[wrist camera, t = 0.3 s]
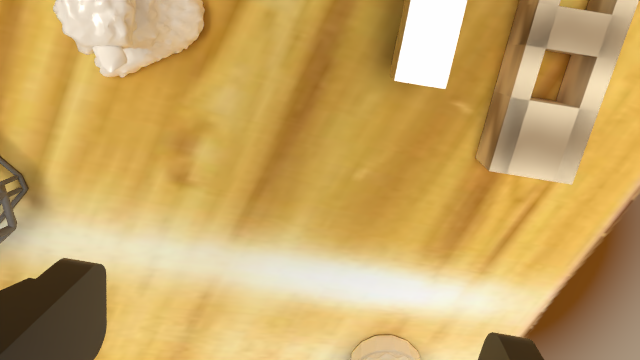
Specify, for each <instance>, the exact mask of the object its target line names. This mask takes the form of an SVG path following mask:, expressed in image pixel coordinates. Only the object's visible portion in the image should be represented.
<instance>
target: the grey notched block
mask: <svg viewBox="0 0 640 360" xmlns="http://www.w3.org/2000/svg"><path fill="white" fill-rule="evenodd" d="M466 4H467V0H405V2H404V7H403V12H402V17H401V21H400V26H399V31H398V36H397V38H396V43H395V48H394V53H393V58H392V63H391V65H392V66H391V71H390V77H391V78H392V79H393V80H394V81H400V82H406V83H412V84H418V85H424V86H430V87H436V88H443V89H446V85H447V81H448V77H449V73H450V69H451V65H452V61H453V57H454V53H455V49H456V44H457V40H458V36H459V32H460V28H461V24H462V20H463V16H464V12H465V8H466Z"/></svg>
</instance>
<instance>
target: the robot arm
mask: <svg viewBox="0 0 640 360" xmlns="http://www.w3.org/2000/svg"><path fill="white" fill-rule="evenodd" d="M106 325H107V318H106V270H105V267H104V266H103V265H102V264H97V263H91V262H85V261H79V260H73V259H68V258H63V259H60V260H59V261H57V262H56V263H55V264H54V265H52V266H51V267H50V268H49V269H47V270H46V271H45V272H44V273H42V274H41V275H40V276H39V277H38V278H36V279H33V278H28V279H26V280H23V281H21V282H19V283H16V284H14V285H12V286H10V287H7V288H5V289H3V290H0V360H94V359H95V357H96V356H97V354H98V352H99V350H100V348H101V346H102V343H103V340H104V337H105V333H106ZM478 360H544V359H543V357H542V356H541V354H540V352H539V351H538V349H537V347H536V346H535V344H534V343H533V341H532V340H530V339H528V338H522V337H516V336H510V335H504V334H499V333H493V332H492V333H490V334H488V336H487V337H486V339H485V341H484V344H483V347H482V350H481V353H480V355H479V358H478Z"/></svg>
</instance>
